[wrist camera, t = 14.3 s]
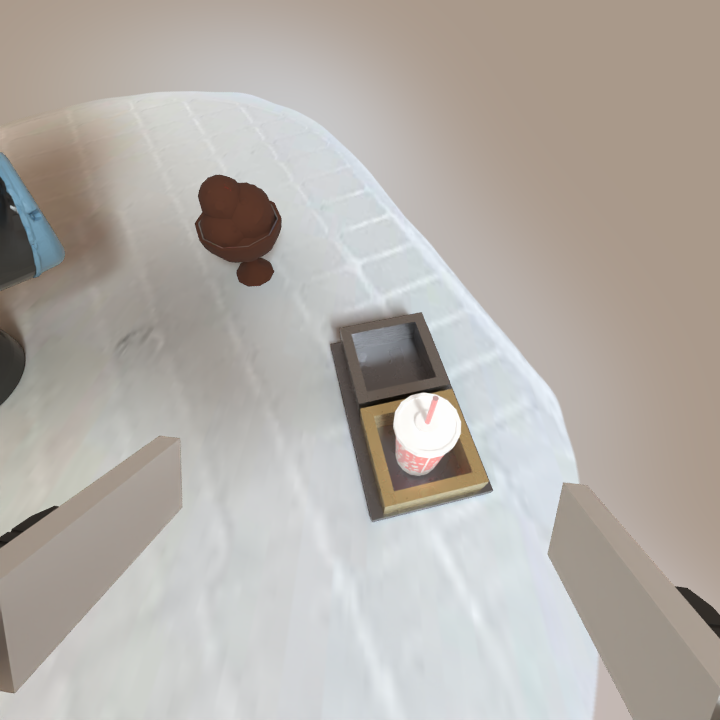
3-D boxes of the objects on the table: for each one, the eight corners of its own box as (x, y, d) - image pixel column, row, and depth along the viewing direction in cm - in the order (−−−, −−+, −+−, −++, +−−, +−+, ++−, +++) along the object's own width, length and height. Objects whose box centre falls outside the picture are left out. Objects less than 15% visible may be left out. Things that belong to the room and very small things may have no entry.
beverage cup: (440, 427, 45) (467, 363, 33) (448, 482, 42) (481, 433, 30) (386, 429, 45) (394, 366, 33) (390, 484, 42) (400, 436, 30)
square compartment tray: (331, 348, 52) (328, 328, 49) (426, 329, 54) (430, 308, 50) (371, 522, 41) (372, 513, 37) (490, 492, 42) (502, 481, 39)
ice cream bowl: (228, 310, 56) (188, 223, 43) (212, 258, 61) (172, 166, 49) (300, 288, 58) (282, 198, 45) (279, 239, 63) (257, 146, 51)
